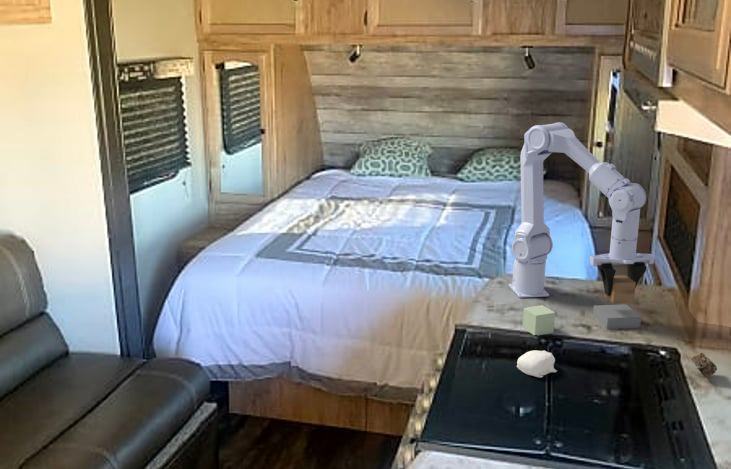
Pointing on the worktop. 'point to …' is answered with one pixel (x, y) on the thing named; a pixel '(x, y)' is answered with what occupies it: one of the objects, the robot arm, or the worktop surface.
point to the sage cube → (538, 320)
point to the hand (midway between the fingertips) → (618, 293)
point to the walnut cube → (622, 290)
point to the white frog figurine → (536, 363)
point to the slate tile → (616, 316)
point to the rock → (704, 365)
